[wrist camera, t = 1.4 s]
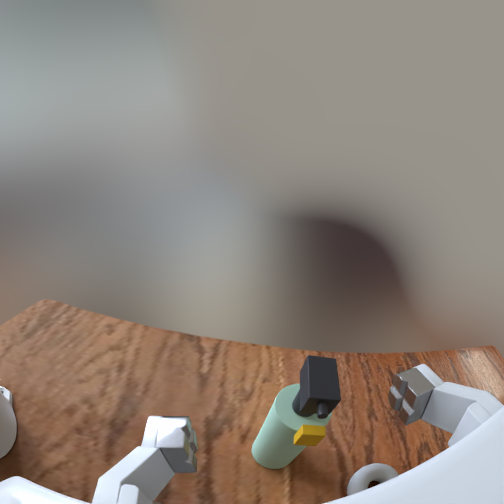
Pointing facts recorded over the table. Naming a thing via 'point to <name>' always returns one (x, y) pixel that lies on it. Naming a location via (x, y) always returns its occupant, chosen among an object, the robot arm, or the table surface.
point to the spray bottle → (297, 412)
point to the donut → (370, 477)
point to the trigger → (309, 435)
